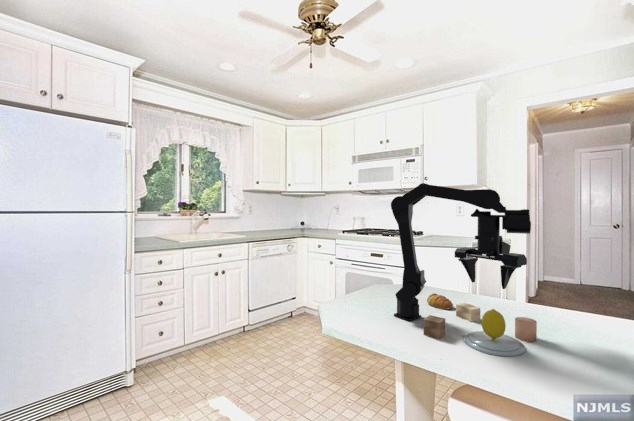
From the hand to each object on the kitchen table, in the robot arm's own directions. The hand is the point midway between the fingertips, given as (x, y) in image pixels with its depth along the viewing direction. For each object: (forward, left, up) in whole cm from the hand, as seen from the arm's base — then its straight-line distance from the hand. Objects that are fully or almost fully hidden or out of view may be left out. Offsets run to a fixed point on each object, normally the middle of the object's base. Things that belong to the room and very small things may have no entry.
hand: (488, 285), depth 96 cm
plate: (+6, -9, -13) cm, 17 cm away
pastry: (-22, +8, -13) cm, 27 cm away
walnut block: (-7, -16, -13) cm, 22 cm away
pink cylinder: (+9, +2, -13) cm, 16 cm away
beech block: (-9, +4, -13) cm, 16 cm away
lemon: (+6, -9, -12) cm, 16 cm away
